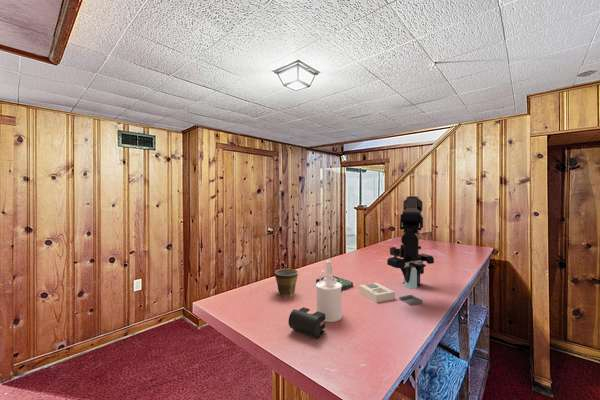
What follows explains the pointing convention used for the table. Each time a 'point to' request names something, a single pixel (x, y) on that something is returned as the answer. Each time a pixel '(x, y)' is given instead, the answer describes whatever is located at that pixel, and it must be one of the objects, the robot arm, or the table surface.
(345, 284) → the disk drive
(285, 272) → the olive plant pot
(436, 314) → the table surface
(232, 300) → the table surface
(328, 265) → the white pump bottle
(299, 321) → the end cap
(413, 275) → the plug
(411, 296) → the holster
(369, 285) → the port block
